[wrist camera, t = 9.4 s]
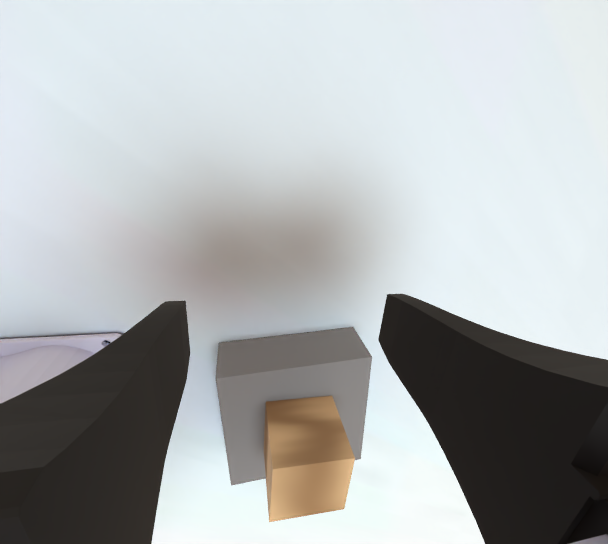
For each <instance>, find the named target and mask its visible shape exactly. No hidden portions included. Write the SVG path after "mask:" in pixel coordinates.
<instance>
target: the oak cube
mask: <svg viewBox="0 0 608 544" xmlns="http://www.w3.org/2000/svg"><path fill="white" fill-rule="evenodd" d="M354 460H355V457H354V454H353V451H352V449H351V446H350V443H349V440H348V438H347V435H346V432H345V429H344V427H343V424H342V421H341V419H340V416H339V413H338V410H337V408H336V405H335V402H334V399H333V397H332V396H323V397H312V398H301V399H290V400H278V401H267V402H266V408H265V430H264V461H265V473H266V486H267V498H268V510H269V522H272V521H278V520H284V519H289V518H295V517H301V516H307V515H312V514H318V513H324V512H330V511H335V510H341V509H344V507H345V502H346V497H347V493H348V488H349V483H350V479H351V474H352V469H353V465H354Z"/></svg>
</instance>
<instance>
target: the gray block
mask: <svg viewBox="0 0 608 544" xmlns="http://www.w3.org/2000/svg"><path fill="white" fill-rule="evenodd" d="M371 361H372V356H371V355H370V353H369V351H368V350H367V348H366V347H365V345H364V344H363V342H362V340H361V339H360V337H359V336H358V334H357V332H356V331H355V329H354V328H353V327H349V328H340V329H332V330H323V331H315V332H306V333H298V334H289V335H281V336H272V337H264V338H255V339H247V340H238V341H230V342H221V343H219V346H218V358H217V370H216V384H217V391H218V397H219V404H220V411H221V418H222V425H223V432H224V439H225V446H226V453H227V459H228V466H229V473H230V480H231V485H235V484H240V483H245V482H250V481H255V480H260V479H265V478H266V473H265V461H264V430H265V408H266V402H267V401H278V400H290V399H301V398H312V397H323V396H332V397H333V399H334V402H335V405H336V408H337V410H338V413H339V416H340V419H341V421H342V424H343V427H344V429H345V432H346V435H347V438H348V440H349V443H350V446H351V449H352V451H353V454H354V457H355V460H358V459H361V450H362V441H363V433H364V424H365V415H366V406H367V397H368V388H369V379H370V370H371Z"/></svg>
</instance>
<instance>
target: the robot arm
mask: <svg viewBox="0 0 608 544" xmlns="http://www.w3.org/2000/svg"><path fill="white" fill-rule="evenodd" d="M104 340H108V341H110V342H111V343H106V342H105V341H104ZM379 342H380V344H381V347H382V349H383V351H384V353H385V355H386V357H387V359H388V362H389V363H390V365H391V366H392V368H393V370H394V371H395V373H396V374H397V376H398V377H399V379H400V380H401V382H402V383H403V385H404V386H405V388H406V389H407V391H408V392H409V394H410V395H411V397H412V398H413V400H414V401H415V403H416V404H417V406H418V407H419V409H420V410H421V412H422V413H423V415H424V417H425V418H426V420H427V422H428V423H429V425H430V427H431V429H432V431H433V432H434V434H435V436H436V438H437V440H438V442H439V444H440V446H441V448H442V450H443V451H444V453H445V455H446V458H447V460H448V462H449V464H450V466H451V468H452V470H453V472H454V474H455V476H456V478H457V480H458V482H459V484H460V486H461V489H462V491H463V493H464V495H465V498H466V500H467V502H468V504H469V506H470V509H471V511H472V513H473V515H474V518H475V520H476V522H477V525H478V527H479V529H480V532H481V534H482V537H483V539H484V542H485V544H608V360H605V359H600V358H595V357H590V356H585V355H581V354H576V353H572V352H567V351H563V350H559V349H555V348H551V347H547V346H543V345H540V344H536V343H532V342H529V341H525V340H522V339H519V338H516V337H513V336H510V335H507V334H503V333H500V332H498V331H495V330H492V329H489V328H486V327H484V326H481V325H479V324H476V323H474V322H471V321H468V320H466V319H464V318H461V317H459V316H456V315H454V314H452V313H449V312H447V311H445V310H442V309H440V308H438V307H435V306H433V305H431V304H429V303H426V302H424V301H421V300H419V299H416V298H414V297H411V296H408V295H405V294H387V299H386V304H385V309H384V314H383V319H382V324H381V329H380V334H379ZM189 357H190V346H189V334H188V323H187V312H186V301H168V302H164V303H163V304H161V305H160V306H159V307H158V308H156V309H155V310H154V311H153V312H151V313H150V314H149V315H148V316H146V317H145V318H144V319H143V320H141V321H140V322H139V323H137V324H136V325H135V326H134V327H132V328H131V329H130V330H128V331H127V332H126V333H124V334H123V335H121V334H118V333H112V334H93V335H74V336H55V337H35V338H16V339H0V544H151V541H152V535H153V529H154V523H155V516H156V510H157V504H158V497H159V492H160V486H161V480H162V474H163V468H164V463H165V458H166V454H167V449H168V445H169V441H170V438H171V434H172V430H173V427H174V423H175V420H176V416H177V412H178V409H179V405H180V402H181V398H182V394H183V390H184V387H185V383H186V379H187V372H188V365H189Z"/></svg>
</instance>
